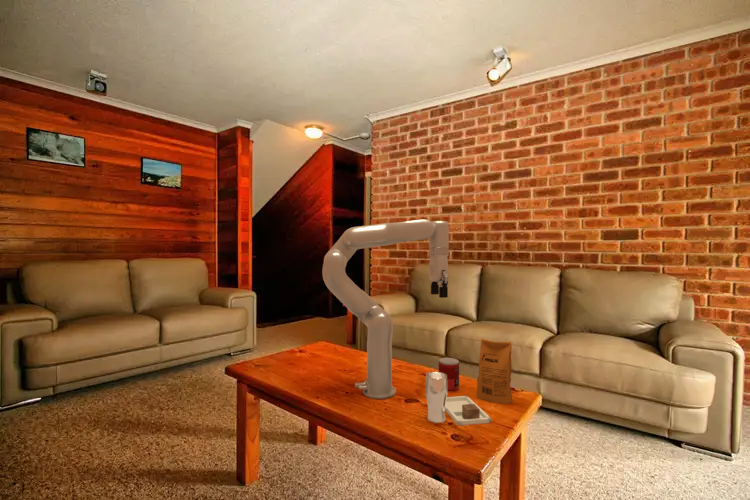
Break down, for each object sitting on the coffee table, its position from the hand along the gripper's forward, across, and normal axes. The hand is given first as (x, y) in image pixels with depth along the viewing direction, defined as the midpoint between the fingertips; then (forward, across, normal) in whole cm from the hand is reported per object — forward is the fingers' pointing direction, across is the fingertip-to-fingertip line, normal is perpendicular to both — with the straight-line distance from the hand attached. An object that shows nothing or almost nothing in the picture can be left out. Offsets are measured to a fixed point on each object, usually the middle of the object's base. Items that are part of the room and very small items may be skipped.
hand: (438, 295), depth 143 cm
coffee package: (+37, +14, +16) cm, 43 cm away
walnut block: (+36, +29, 0) cm, 46 cm away
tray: (+37, +23, 0) cm, 43 cm away
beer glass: (+37, +26, -10) cm, 46 cm away
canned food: (+37, 0, +4) cm, 37 cm away
